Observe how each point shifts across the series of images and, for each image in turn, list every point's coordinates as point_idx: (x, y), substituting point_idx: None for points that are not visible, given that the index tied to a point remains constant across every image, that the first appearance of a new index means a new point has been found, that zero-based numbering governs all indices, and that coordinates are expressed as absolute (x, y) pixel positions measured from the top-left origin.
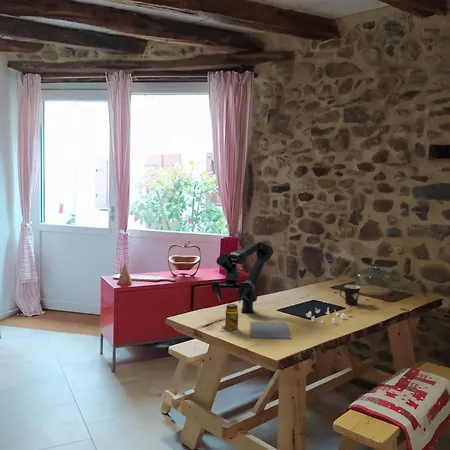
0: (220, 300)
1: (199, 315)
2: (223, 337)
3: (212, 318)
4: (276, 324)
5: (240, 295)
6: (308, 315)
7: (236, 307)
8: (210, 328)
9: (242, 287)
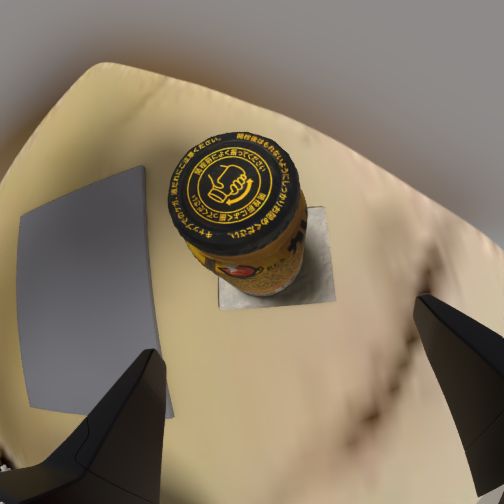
0: (428, 296)
1: None
2: (276, 131)
3: (421, 428)
4: (52, 377)
5: (109, 413)
6: (2, 466)
7: (177, 169)
8: (391, 241)
9: (8, 492)
